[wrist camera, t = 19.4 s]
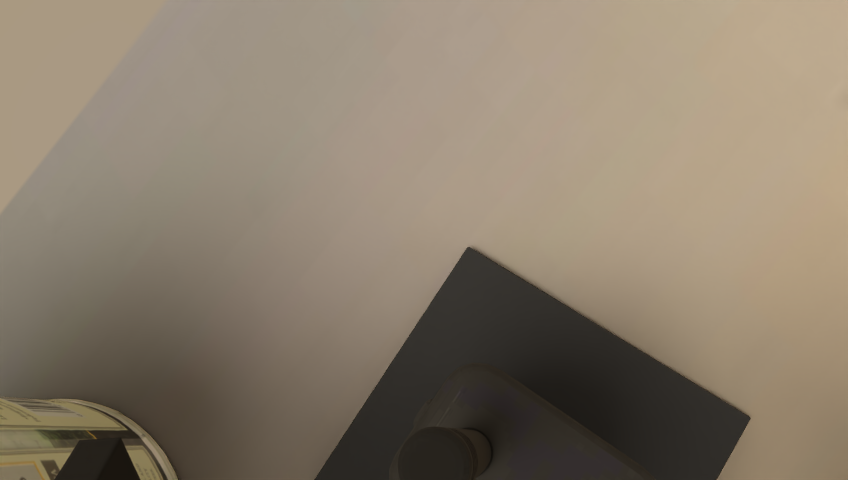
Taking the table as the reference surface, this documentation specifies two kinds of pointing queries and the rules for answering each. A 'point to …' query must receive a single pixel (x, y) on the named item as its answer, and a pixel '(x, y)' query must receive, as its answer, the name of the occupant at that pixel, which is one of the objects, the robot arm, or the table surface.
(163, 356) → the table surface
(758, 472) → the table surface
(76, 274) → the table surface
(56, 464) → the coffee can
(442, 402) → the walkie-talkie
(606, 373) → the mat
